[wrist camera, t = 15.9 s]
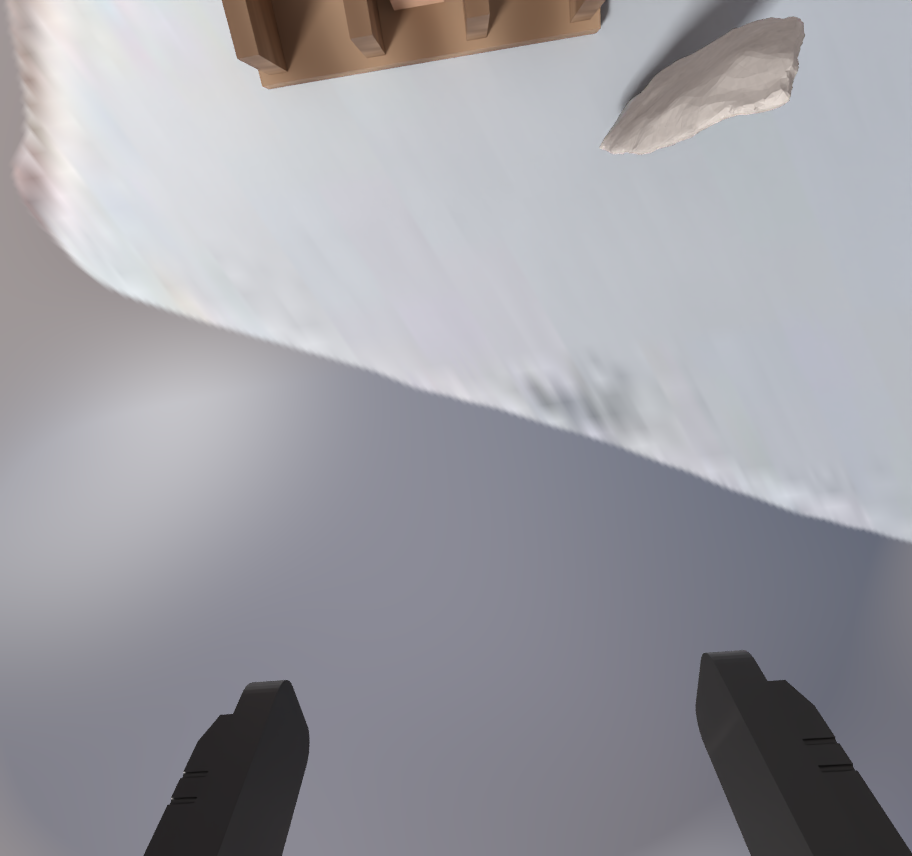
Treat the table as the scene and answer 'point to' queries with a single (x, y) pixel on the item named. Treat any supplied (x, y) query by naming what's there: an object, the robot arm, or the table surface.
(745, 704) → the robot arm
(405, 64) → the drying rack
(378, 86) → the table surface
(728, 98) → the stone tool
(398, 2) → the peach rectangular block
